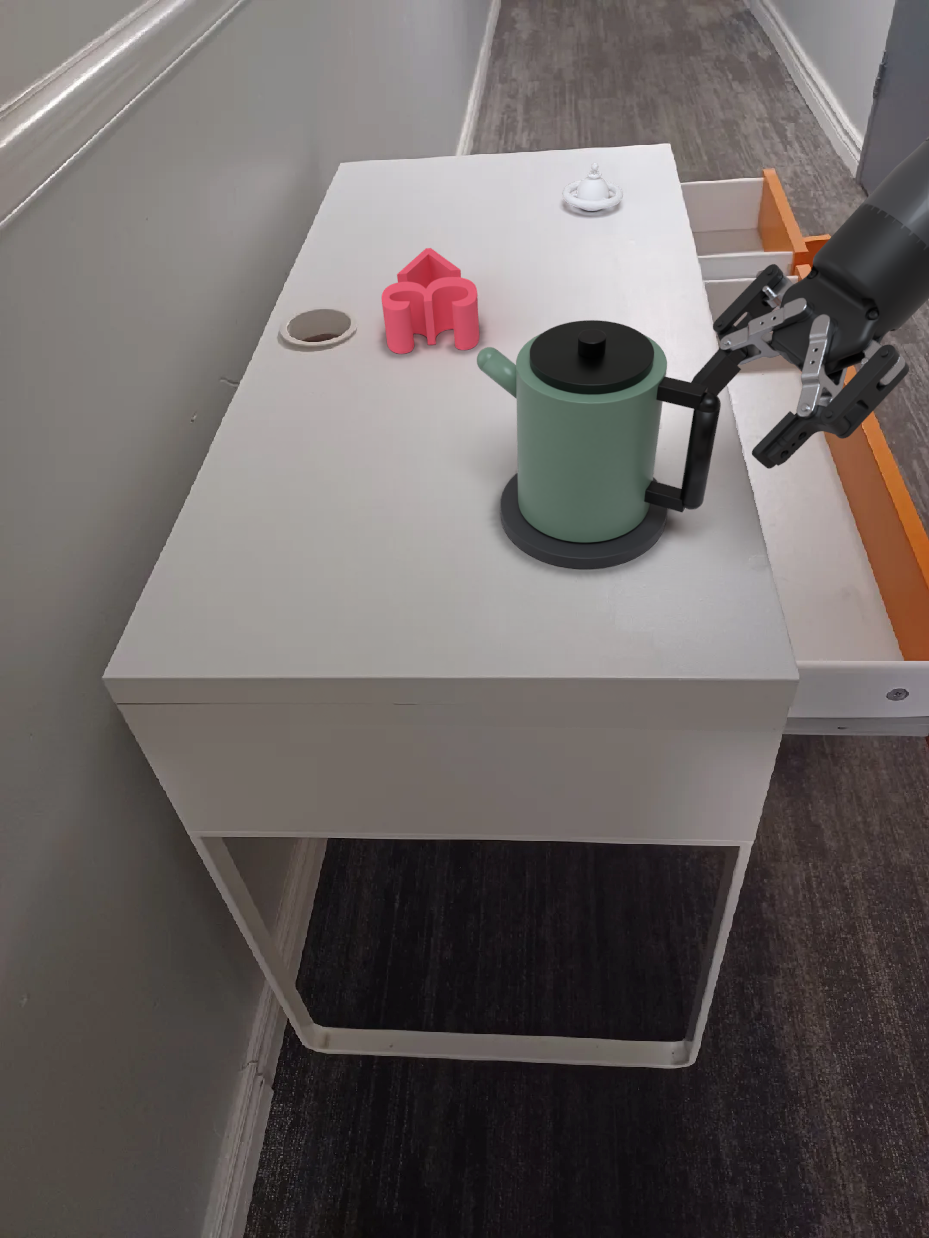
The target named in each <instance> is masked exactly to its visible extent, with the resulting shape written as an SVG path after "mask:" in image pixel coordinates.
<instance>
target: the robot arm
mask: <svg viewBox="0 0 929 1238" xmlns="http://www.w3.org/2000/svg"><path fill="white" fill-rule="evenodd" d="M812 259H813V260H812V266H811V269H810V271H809V273H808V274H807V275H806V276H804V277H803V278H802V279H800V280H799V281H797V282H795V283H793V282H792V281H791V280H790V278H789V276H787V275H786V274H785V272H784V271H783V270H782V269H781V268H780V267H779V265H777V264H775V263H772V264H769V265H767V266H766V267H765V268H764V269H763V270H762V271H761V272H760V274H759V275H758V276H757V277H756V278H755V279H754V280H753V281H752V282H751V283H750V284H749V285H748V286H747V287H746V288H745V289H744V290H743V291H742V292H741V293H740V294H739V295H738V296H737V298H735V300H734V301H733V302H732V303H731V304H730V305H729V306H728V307H727V308H726V309H725V310H724V311H723V312H722V313H721V314H720V315H719V316H718V317H717V318H716V319H715V320H714V322H713V324H712V329H713V331H714V332H715V333H716V334H717V338H718V340H719V347H718V349H717V350H716V352H715V353H714V354H713V355H712V356H711V357H710V358H709V360H708V361H706V363H705V364H704V365H703V366H702V367H701V369H699V371H697V373H696V374H695V375H694V376H693V378H692V380H691V381H690V382H691V383H695V384H700V385H704V386H707V387H708V389H707V393H708V392H709V393H713V394H715V395H717V396H719V394H720V393H721V392H722V391H724V389H725V388H726V387H727V386H728V384H730V382H731V381H732V380H733V379H734V378H735V377H736V376H737V375H738V373H740V372H741V371H742V368H741V367H740V366H743V365H747V364H749V363H751V362H754V361H756V360H758V359H761V358H767V359H768V358H769V359H771V358H773V359H774V358H776V357H779V356H781V357H782V358H783V359H784V360H785V361H786V362H788V363H789V364H791V365H794V366H795V367H796V368H797V369H798V370H799V371H800V372H801V374H800V381H801V385H802V386H801V391H800V394H799V398H798V403H797V405H796V409H795V410H796V412H795V413H793V411H791V410H789V411H788V412H787V413H786V414H785V415H784V416H783V417H782V418H781V419H780V420H779V422H777V424H776V425H775V426H774V427H773V428H771V430H770V431H769V432H768V433H767V434H766V435H765V436H764V437H763V438H762V439H761V440H760V441H759V442H758V443H757V444H756V445H755V446H754V447H753V449H752V451H751V456H752V457H753V458H754V459H756V461H758V462H759V463H760V464H761V465H762V466H764V467H765V468H766V469H772V468H775V467H776V466H777V467H779V466H781V465H783V464H785V463H787V461H789V459H790V458H791V457H792V456H793V455H794V454H796V452H797V451H798V450H799V449H800V448H801V447H802V446H803V445H804V444H806V442H807V441H808V440H809V439H811V437H812V436H813V435H815V434H816V433H819V432H824V433H828V434H831V435H835V436H836V437H837V438H838V439H847V438H849V437H850V436H851V435H852V434H853V433H854V432H855V431H856V430H857V429H858V428H859V427H860V426H861V424H862V423H863V422H864V421H865V420H866V419H867V418H868V417H869V416H870V415H871V414H872V413H873V412H874V410H875V409H877V407H878V406H879V405H880V404H882V402H883V401H884V400H885V399H886V398H887V397H888V396H889V394H891V393H892V391H893V390H894V389H895V388H896V387H897V386H898V385H899V384H900V383H901V381H902V380H903V379H905V377H906V376H907V375H908V373H909V371H910V366H909V364H908V362H907V361H906V360H905V358H904V356H903V355H902V354H901V353H900V352H899V351H898V350H897V349H896V347H895V346H894V345H892V344H884V345H883V344H881V343H882V341H883V339H884V338H885V336H886V335H887V334H888V333H889V332H895V331H898V330H899V329H901V328H902V327H903V325H905V324H906V322H907V321H909V320H910V319H911V317H912V316H913V315H915V313H916V312H917V311H918V310H919V309H920V308H921V307H922V306H923V305H924V304H925V303H926V302H927V301H928V300H929V135H928V136H927V137H926V138H925V140H924V141H923V142H921V144H919V146H917V148H915V149H914V150H913V151H912V152H911V153H910V154H909V155H908V156H907V157H905V158H904V159H903V160H902V161H901V162H900V163H898V164H897V165H896V166H895V167H894V168H893V169H892V170H891V171H890V172H889V173H888V174H887V175H886V177H884V178H883V180H882V181H881V182H880V183H878V185H877V186H876V188H874V189H873V190H872V192H870V194H869V195H868V196H867V197H866V198H865V199H864V200H863V202H862V203H861V204H860V205H859V206H858V207H857V208H856V209H855V211H853V213H851V215H850V216H849V217H848V218H847V219H846V220H845V222H843V223H842V225H841V226H840V227H839V228H838V229H837V230H836V231H835V232H834V233H833V234H832V236H831V237H830V238H829V239H828V240H827V241H826V242H825V243H824V245H822V247H821V248H820V249H819V250H818V251H817V252H816V253H815V254H814V256H813V258H812ZM776 308H778V309H776ZM775 309H776V310H775ZM744 315H745V316H744ZM742 316H744V317H743V318H742ZM740 318H742V319H741V320H740V321H739V319H740ZM738 321H739V322H738ZM737 322H738V323H737ZM736 323H737V324H736ZM735 324H736V325H735ZM771 332H772V333H771ZM858 364H860V366H859V370H858V371H857V372H856V374H855V375H853V377H852V378H851V379H850V380H849V381H848V382H847V383H846V385H845V386H844V384H845V380H846V376H847V372H848V368H850V367H852V366H856V365H858Z"/></svg>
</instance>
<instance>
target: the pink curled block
mask: <svg viewBox="0 0 929 1238" xmlns="http://www.w3.org/2000/svg"><path fill="white" fill-rule="evenodd" d="M396 278H397V282H393V283H391V284H389V285H388V286H387V287H385V288H384V289H383V291H382V292H381V293H382V294H381V306H382V313H383V322H384V329H385V337H386V342H387V348H388V349H389V350H390V351H391V352H393V353H395V354H399V355H402V354H408V353H411V352H412V351H413V350H414V348H415V339H414V335H415V334H416V335H422V336H424V337H425V338H426V340H427V345H428V346H433V345H436V342H437V341H436V338H437V336H438V335H439V334H440V333H442V332H445V331H449V330H453V337H454V347H455V348H456V349H457V350H460V351H461V350H462V351H467V350H471V349H473V348H475V347H476V346H477V345H478V343H479V341H480V321H479V304H478V302H479V301H478V300H479V299H478V298H479V297H478V289H477V286H476V284H475V283H474V282H473V281H472V280H470V279H468V278H465V277H462V270H461V268H459V267H458V266H456V265H455V264H453V263H452V262H450V260H448V259H447V258H446V257H444V256H442V255H441V254H439V253H438V252H437V251H436V250H435V249H433V248H432V247H426V248H424V249H423V250H422V251H421V252H420V253H419V254H418V255H416V256H415V257H414V258H413V259H412V260H411V261H410V262H409V263H407V264H406V265H405V266H404V267H403V268H402V269H401V270H399V272H398V273H397V274H396Z"/></svg>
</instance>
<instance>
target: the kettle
mask: <svg viewBox="0 0 929 1238" xmlns="http://www.w3.org/2000/svg"><path fill="white" fill-rule="evenodd" d="M516 356H517V357H516V360H515V362H513V361H512V360H511V359H509V358H508V357H507V356H505V354H503V352H501V351H499V349H497V348H495V347H492V346H487V347H484V348H482V349H481V350H479V352H478V353H477V356H476V365H477V367H478V369H479V370H480V371H481V372H482V373H483V374H485V375H486V376H487V377H489V378H490V379H491V380H492V381H494V383H496V384H497V385H499V386H500V387H501V388H502V389H504V391H506V392H507V393H508V394H510V395H511V396H512V397H513V398H514V399H516V449H517V451H516V452H517V454H516V455H517V456H516V457H517V460H516V461H517V472H518V504H519V508H520V511H521V513H522V515H523V516H524V518H525V519H526V520H527V521H528V522H529V523H530V524H531V525H532V526H533V527H534V528H536V529H537V530H539V531H541V532H542V533H544V534H546V535H549V536H551V537H554V538H557V539H561V540H565V541H571V542H600V541H605V540H610V539H613V538H617V537H619V536H621V535H624V534H626V533H628V532H629V531H631V530H632V529H634V528H635V527H637V526H638V525H639V524H640V523H641V522H642V520H643V519H644V518H645V516H646V514H647V512H648V509H649V506H650V504H654V505H657V506H661V507H664V508H667V510H672V511H675V512H679V513H684V511H685V510H688V511H695V510H697V509H699V508H700V507H701V506H702V505H703V503H704V501H705V495H706V494H705V493H706V490H707V483H708V478H709V471H710V467H711V461H712V457H713V452H714V451H713V450H714V445H715V441H716V440H715V439H716V433H717V428H718V423H719V418H720V413H721V408H722V407H721V405H722V404H721V400H720V398H719V395H715V394H713V393H709V392H708V393H707V389H708V387H707V386H704V385H700V384H695V383H691V382H692V381H686V380H682V379H677V378H673V377H670V376H667V370H668V360H667V359H668V358H667V356H666V354H665V352H664V350H663V349H662V347H661V346H660V345H659V344H658V343H657V342H656V341H654V340H653V339H652V338H651V337H649V336H647V335H645V334H643V333H642V332H640V331H639V330H637V329H635V328H633V327H631V326H628V325H626V324H623V323H619V322H614V321H609V320H598V319H597V320H596V319H590V320H589V319H588V320H587V319H586V320H575V321H570V322H565V323H562V324H558V325H556V326H553V327H551V328H549V329H546V330H544V331H543V332H541V333H539V334H537V335H536V336H534V337H532V338H531V339H530V340H528V341H527V342H526V343H525V344H524V345H523V346H522V348H520V350H519V352H518V353H517V355H516ZM663 403H668V404H672V405H676V406H681V407H684V408H687V409H692V410H693V412H692V418H691V423H690V424H691V425H690V430H689V437H688V442H687V443H688V444H687V449H686V456H685V463H684V468H683V475H682V481H681V488H680V487H677V486H673V485H670V484H667V483H663V482H659V481H657V482H656V481H653V477H654V473H655V464H656V458H657V448H658V443H659V435H660V434H659V433H660V426H661V418H662V409H663Z"/></svg>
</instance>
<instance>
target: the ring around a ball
mask: <svg viewBox="0 0 929 1238" xmlns="http://www.w3.org/2000/svg"><path fill="white" fill-rule="evenodd" d="M599 167H600V166H599V164H598V163H597V162H593V163H592V164H591V166H590V168H591V170H588V171H587V172H586V177H585V178H583V179H580V180H576V181H572V182H570V183H568V184H567V185H566V186H565V187H563V189H562V192H561V196H562V198H563V200H564V201H565V203H567V204H568V205H570V206H571V207H572V206H573V207H575V208H578V209H582V210H585V211H588V212H596V211H597V212H598V211H600V210H604V209H609V208H611V207H612V208H613V207H614V206H617V205H618V204H619V203H620V202H621V201H622V200H623V198H624V192H623V189H622V188H621V186H620V185H618V184H616V183H615V182H612V181H609V180H606V179H605V180H604V179H603V178H602V176H603V173H602V172H601V171H600V170H598V169H599ZM575 191H576V192H575ZM573 192H575V193H573ZM610 193H613V194H614V195H613V196H611V197H610Z"/></svg>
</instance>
